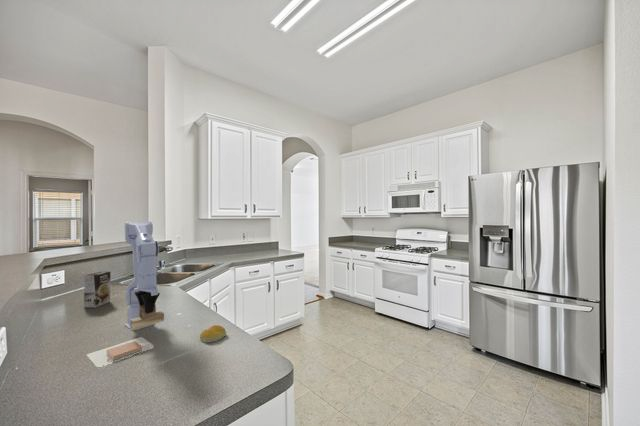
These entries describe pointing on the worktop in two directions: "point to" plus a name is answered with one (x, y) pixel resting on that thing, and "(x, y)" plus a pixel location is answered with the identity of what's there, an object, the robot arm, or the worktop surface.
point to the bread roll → (213, 334)
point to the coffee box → (97, 289)
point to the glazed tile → (124, 350)
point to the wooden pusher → (146, 318)
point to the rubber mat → (101, 357)
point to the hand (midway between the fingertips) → (146, 311)
